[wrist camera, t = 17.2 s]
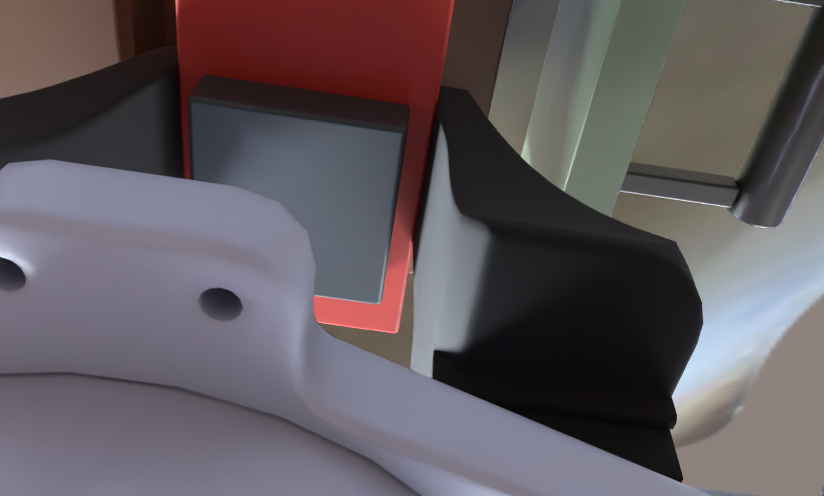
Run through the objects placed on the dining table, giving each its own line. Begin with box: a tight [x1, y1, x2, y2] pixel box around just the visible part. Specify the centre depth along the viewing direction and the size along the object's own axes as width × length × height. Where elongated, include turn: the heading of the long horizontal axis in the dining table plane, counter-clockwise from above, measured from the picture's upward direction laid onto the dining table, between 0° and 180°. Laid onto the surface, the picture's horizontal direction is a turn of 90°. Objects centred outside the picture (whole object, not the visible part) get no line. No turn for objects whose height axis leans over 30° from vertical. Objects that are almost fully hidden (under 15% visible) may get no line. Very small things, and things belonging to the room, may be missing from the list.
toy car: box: [175, 0, 455, 333], centre depth 13 cm, size 7×4×4 cm, turn 172°
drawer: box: [131, 0, 824, 274], centre depth 18 cm, size 17×11×6 cm, turn 82°
